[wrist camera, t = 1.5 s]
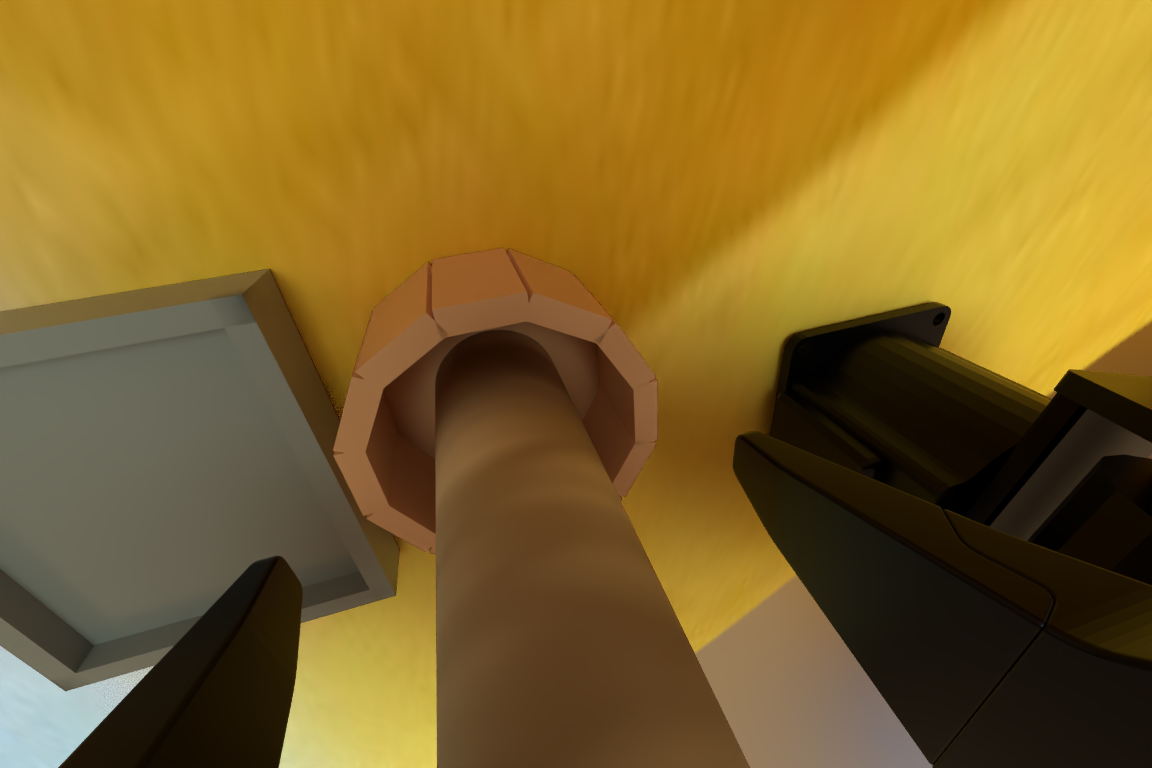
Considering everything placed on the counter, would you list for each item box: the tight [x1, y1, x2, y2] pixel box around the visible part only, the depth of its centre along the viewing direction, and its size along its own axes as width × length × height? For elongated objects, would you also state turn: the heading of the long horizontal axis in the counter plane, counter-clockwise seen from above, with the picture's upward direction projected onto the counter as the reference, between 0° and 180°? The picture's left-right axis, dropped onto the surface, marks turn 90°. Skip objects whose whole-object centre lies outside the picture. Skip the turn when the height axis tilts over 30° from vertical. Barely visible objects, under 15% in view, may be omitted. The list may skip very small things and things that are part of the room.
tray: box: [0, 269, 400, 691], centre depth 12 cm, size 9×10×2 cm
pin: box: [435, 330, 750, 768], centre depth 9 cm, size 3×3×10 cm
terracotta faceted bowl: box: [333, 248, 658, 554], centre depth 12 cm, size 7×7×4 cm
